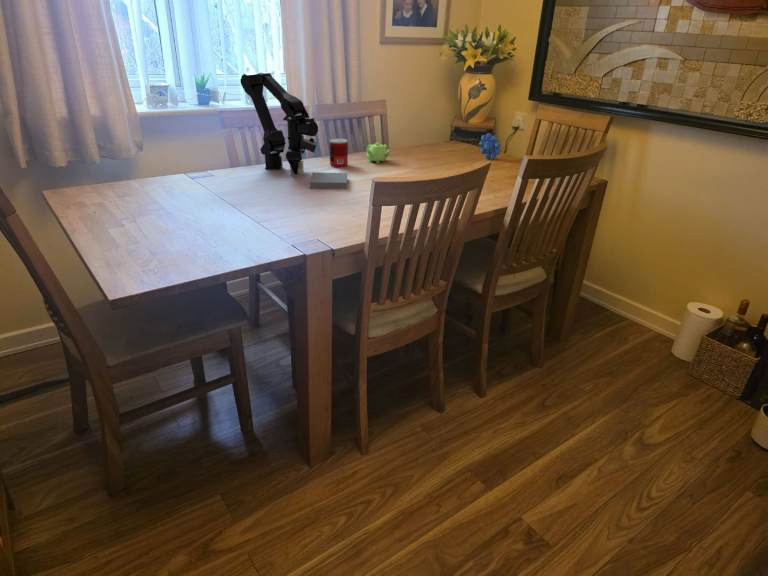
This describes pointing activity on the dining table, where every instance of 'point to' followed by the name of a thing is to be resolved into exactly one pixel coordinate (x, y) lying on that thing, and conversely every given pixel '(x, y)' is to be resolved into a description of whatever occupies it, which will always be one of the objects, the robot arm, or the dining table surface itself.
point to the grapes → (489, 146)
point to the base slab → (328, 181)
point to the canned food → (338, 152)
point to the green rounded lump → (377, 152)
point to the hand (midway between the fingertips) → (297, 171)
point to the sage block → (300, 169)
